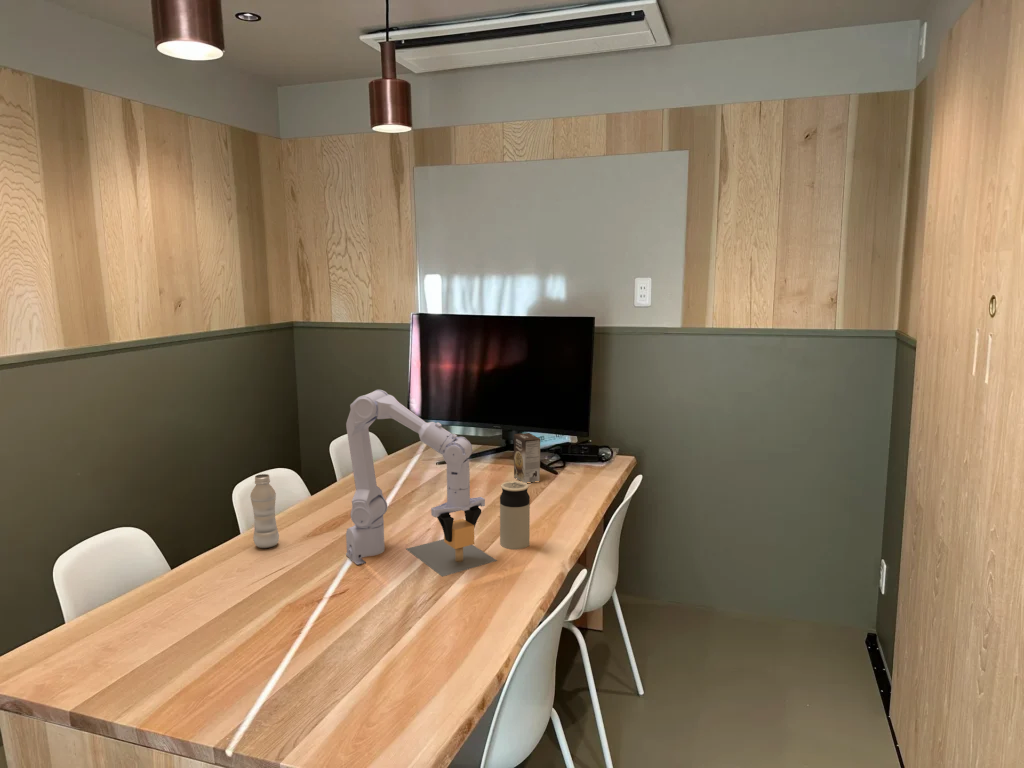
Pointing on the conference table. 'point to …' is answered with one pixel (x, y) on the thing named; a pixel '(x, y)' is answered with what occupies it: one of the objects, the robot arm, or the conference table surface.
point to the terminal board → (450, 557)
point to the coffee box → (526, 457)
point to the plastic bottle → (264, 512)
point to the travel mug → (514, 515)
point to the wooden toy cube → (461, 534)
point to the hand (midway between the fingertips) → (459, 537)
